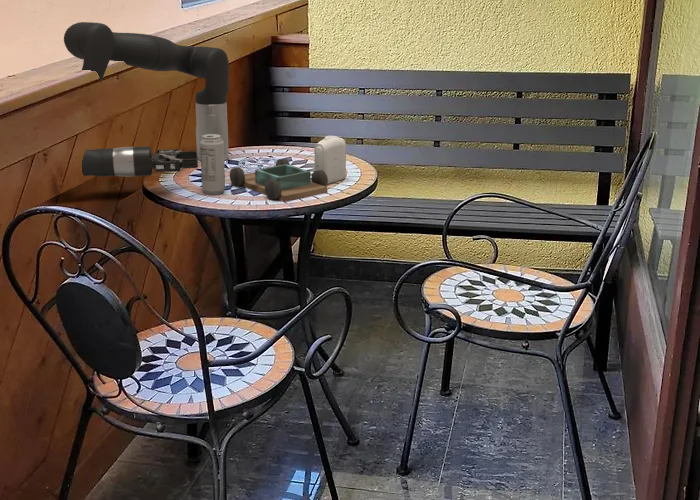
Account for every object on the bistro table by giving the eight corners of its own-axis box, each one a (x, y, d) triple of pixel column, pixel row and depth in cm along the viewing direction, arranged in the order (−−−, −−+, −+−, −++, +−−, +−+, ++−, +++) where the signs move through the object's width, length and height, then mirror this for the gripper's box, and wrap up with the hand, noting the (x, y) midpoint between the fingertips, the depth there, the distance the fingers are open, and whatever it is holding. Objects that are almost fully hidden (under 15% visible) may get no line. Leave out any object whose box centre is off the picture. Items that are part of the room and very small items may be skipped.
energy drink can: (230, 192, 214) (228, 136, 208) (211, 196, 209) (209, 139, 204) (215, 187, 217) (213, 132, 212) (197, 191, 213) (194, 135, 208)
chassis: (226, 183, 222) (226, 165, 220) (276, 173, 232) (276, 156, 231) (280, 203, 205) (279, 184, 203) (331, 191, 216) (331, 173, 214)
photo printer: (323, 186, 220) (324, 141, 216) (312, 183, 223) (312, 139, 219) (347, 179, 228) (348, 135, 224) (336, 176, 230) (336, 133, 226)
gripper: (130, 153, 199) (197, 151, 202) (132, 140, 212) (195, 139, 215) (132, 183, 201) (199, 180, 204) (135, 168, 214) (197, 166, 217)
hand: (197, 159), depth 210 cm, fingers open, 8 cm apart
